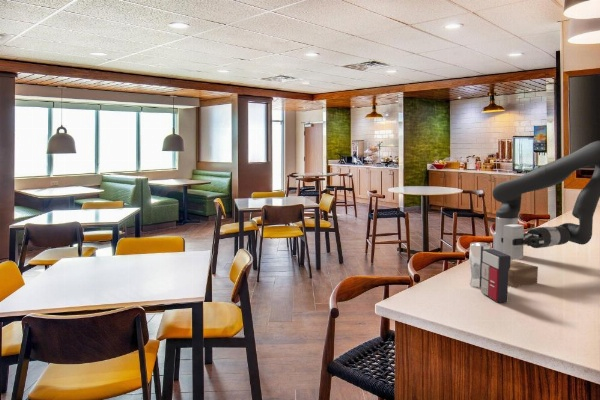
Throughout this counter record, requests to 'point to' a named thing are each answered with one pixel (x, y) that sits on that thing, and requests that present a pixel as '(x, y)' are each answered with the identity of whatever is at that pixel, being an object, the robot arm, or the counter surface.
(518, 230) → the skincare box
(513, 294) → the counter surface
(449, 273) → the counter surface
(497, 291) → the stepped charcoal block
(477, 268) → the beer glass
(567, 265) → the counter surface
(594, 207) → the robot arm
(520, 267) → the walnut block
